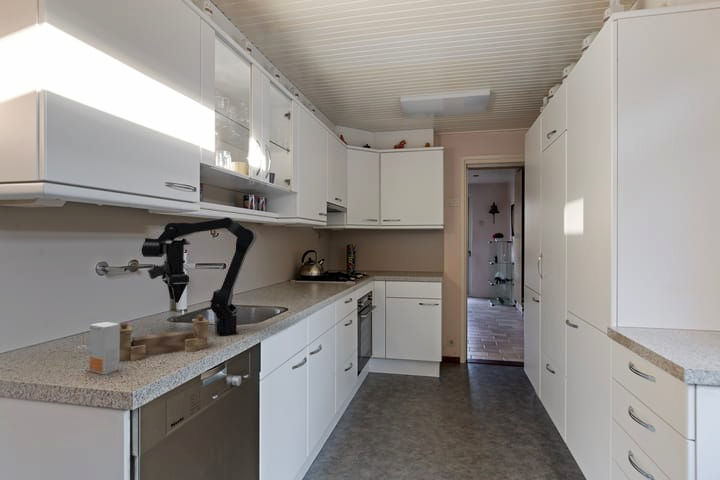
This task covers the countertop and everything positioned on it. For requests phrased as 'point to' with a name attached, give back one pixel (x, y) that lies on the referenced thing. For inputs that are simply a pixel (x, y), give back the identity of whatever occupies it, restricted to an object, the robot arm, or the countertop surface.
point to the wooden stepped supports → (139, 351)
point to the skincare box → (104, 347)
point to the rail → (163, 342)
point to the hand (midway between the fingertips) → (174, 300)
